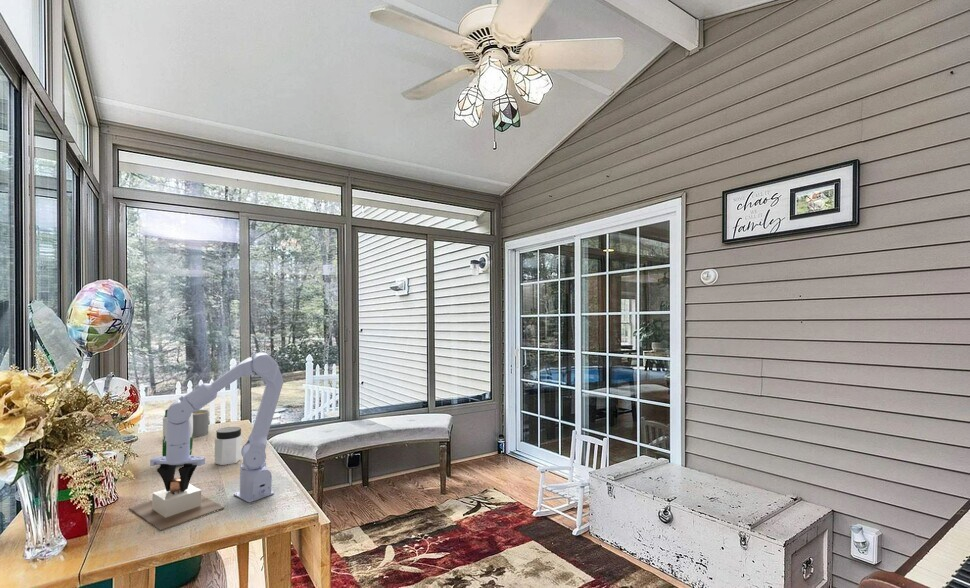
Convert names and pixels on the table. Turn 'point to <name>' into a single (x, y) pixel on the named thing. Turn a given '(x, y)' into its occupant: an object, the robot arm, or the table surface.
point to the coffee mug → (200, 423)
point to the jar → (228, 445)
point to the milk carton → (166, 433)
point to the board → (177, 519)
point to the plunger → (175, 485)
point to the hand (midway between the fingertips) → (177, 489)
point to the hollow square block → (176, 501)
